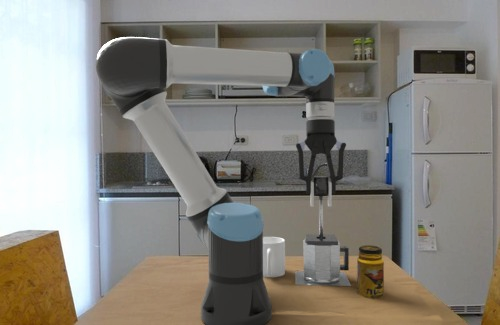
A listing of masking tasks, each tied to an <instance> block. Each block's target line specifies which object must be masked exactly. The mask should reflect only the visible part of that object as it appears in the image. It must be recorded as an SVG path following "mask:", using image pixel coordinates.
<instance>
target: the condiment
mask: <svg viewBox="0 0 500 325" xmlns="http://www.w3.org/2000/svg"><path fill="white" fill-rule="evenodd" d="M358 251H359V252H358V258H357V263H356V264H357V266H356V268H357V269H356V270H357V279H356V280H357V284H356V285H357V292H356V293H357V294H358V295H359V296H361V297H362V298H363V297H364V298H367V299H381V298H383V297H384V295H385V294H384V293H385V286H384V284H385V280H384V279H385V277H384V276H385V275H384V270H385V269H384V267H385V266H384V265H385V262H384V259H383V250H382V248H381V247H380V246H376V245H369V244H367V245H361V246H359V247H358Z"/></svg>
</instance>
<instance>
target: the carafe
mask: <svg viewBox="0 0 500 325" xmlns="http://www.w3.org/2000/svg"><path fill="white" fill-rule="evenodd" d="M302 242H303V246H302V247H303V248H302V249H303V271H304V279H305V280H306V281H308V282H311V283H315V284H333V283H336V282H338V281H339V280H340V272H341V271H349V269H350V267H349V263H350V261H349V260H350V259H349V256H350V255H349V247H348V246H346V245H345V246H341V243H340V241H339V240H338V238H337V237H336V235H335V234H324V233H323V239H319V233H318V234H317V233H316V234H315V233H314V234H313V233H311V234H310V233H308V234H307V233H306V234H305V238H304V239H303V241H302ZM341 253H343V264H341Z"/></svg>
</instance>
